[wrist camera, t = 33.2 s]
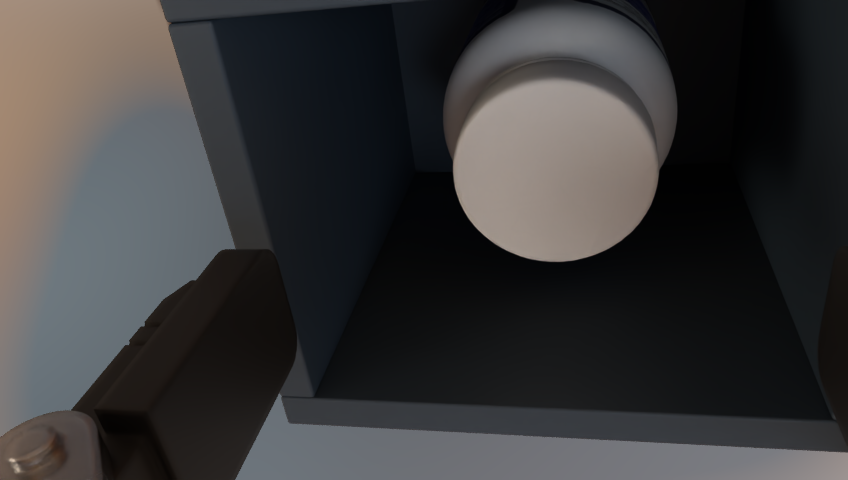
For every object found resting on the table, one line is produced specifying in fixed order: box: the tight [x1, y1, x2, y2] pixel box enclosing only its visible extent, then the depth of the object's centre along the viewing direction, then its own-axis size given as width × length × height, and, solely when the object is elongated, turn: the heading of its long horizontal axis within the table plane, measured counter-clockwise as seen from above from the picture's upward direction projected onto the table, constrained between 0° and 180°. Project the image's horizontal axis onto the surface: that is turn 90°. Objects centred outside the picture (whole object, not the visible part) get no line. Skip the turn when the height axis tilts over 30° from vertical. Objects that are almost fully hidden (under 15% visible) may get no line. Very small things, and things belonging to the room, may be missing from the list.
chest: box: [160, 0, 848, 452], centre depth 17 cm, size 12×10×12 cm
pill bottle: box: [443, 0, 677, 262], centre depth 17 cm, size 5×5×9 cm
